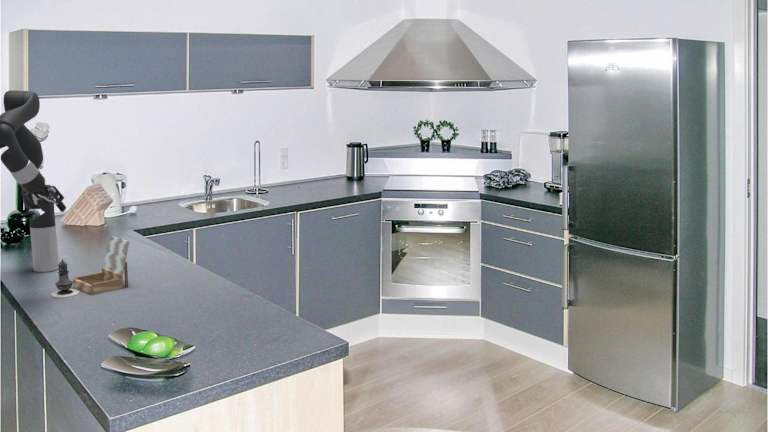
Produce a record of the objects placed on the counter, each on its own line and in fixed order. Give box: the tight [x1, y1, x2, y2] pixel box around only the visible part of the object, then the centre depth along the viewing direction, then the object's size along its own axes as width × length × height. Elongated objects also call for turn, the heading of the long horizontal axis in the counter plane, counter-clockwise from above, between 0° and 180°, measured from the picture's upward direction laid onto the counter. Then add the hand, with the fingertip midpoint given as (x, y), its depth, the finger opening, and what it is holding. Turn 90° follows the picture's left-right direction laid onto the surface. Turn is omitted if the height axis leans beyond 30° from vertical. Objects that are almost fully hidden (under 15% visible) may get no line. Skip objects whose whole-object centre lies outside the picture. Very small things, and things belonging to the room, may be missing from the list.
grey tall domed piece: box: [54, 258, 73, 295], centre depth 285 cm, size 6×6×12 cm
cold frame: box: [72, 235, 130, 295], centre depth 294 cm, size 14×15×17 cm
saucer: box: [51, 288, 80, 299], centre depth 286 cm, size 9×9×1 cm
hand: (55, 210), depth 282 cm, fingers open, 8 cm apart
